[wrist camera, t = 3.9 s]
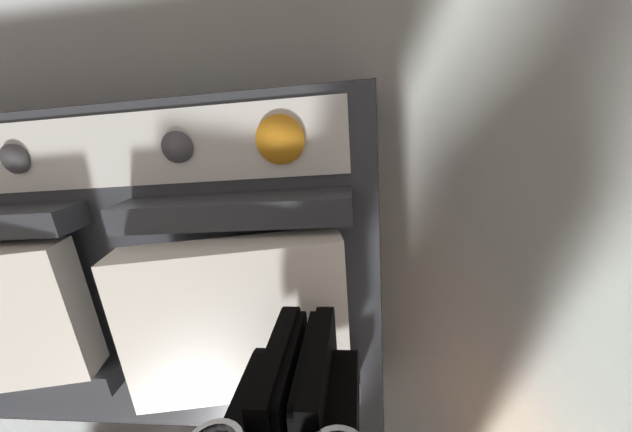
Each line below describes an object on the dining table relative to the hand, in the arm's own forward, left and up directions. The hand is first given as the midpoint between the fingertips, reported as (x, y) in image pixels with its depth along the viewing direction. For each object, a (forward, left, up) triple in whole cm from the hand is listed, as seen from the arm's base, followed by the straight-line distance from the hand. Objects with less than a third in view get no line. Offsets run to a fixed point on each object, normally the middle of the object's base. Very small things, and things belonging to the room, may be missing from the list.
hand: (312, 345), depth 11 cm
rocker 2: (+3, 0, -2) cm, 4 cm away
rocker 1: (+14, 0, -2) cm, 14 cm away
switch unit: (+9, 0, -8) cm, 11 cm away
